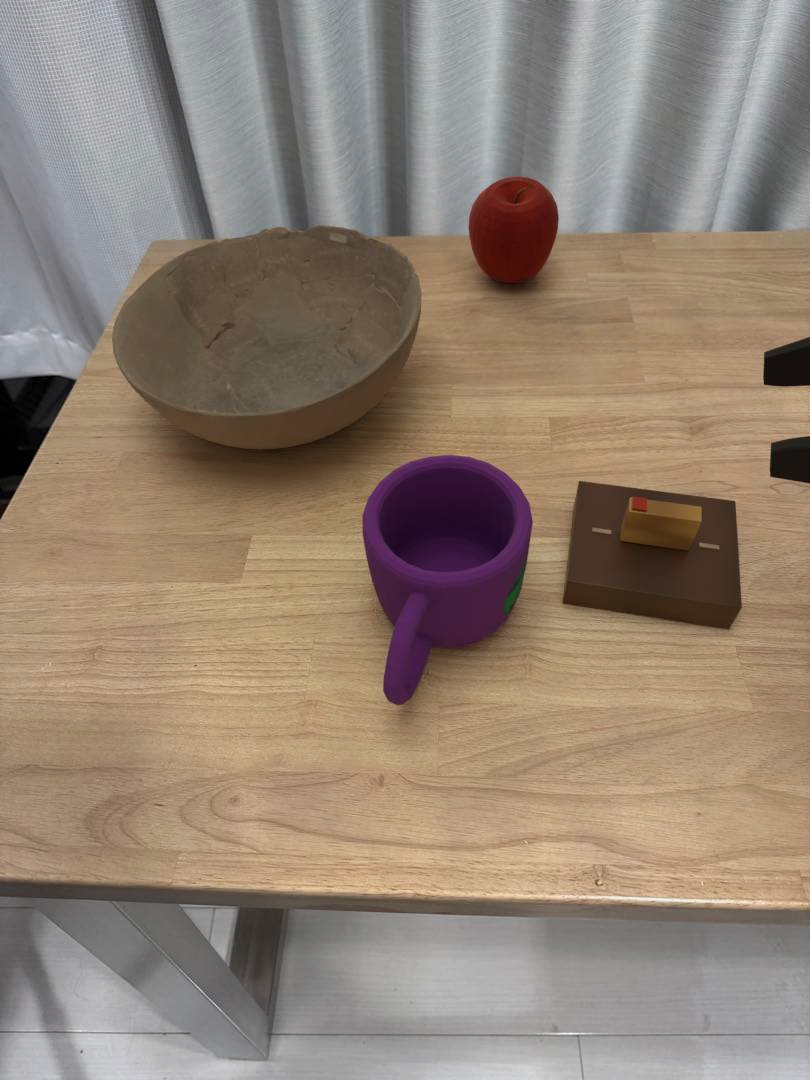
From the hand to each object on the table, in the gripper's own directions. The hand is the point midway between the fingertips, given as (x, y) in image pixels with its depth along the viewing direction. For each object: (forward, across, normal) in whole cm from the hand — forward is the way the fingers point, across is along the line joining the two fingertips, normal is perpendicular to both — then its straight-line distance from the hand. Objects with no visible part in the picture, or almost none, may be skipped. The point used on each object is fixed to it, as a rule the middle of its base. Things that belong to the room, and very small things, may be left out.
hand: (766, 412), depth 41 cm
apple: (+24, -39, +12) cm, 47 cm away
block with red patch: (+7, -1, +13) cm, 15 cm away
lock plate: (+8, -1, +16) cm, 18 cm away
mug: (+22, +8, +12) cm, 26 cm away
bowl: (+42, -16, +7) cm, 45 cm away
